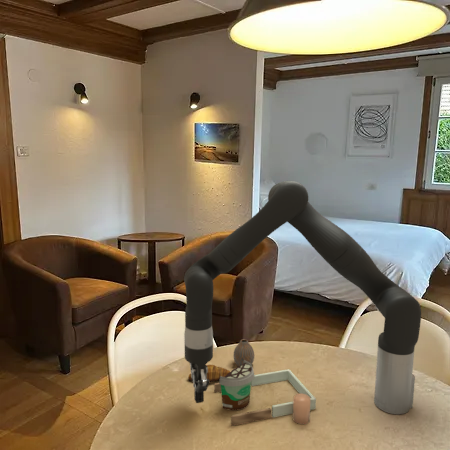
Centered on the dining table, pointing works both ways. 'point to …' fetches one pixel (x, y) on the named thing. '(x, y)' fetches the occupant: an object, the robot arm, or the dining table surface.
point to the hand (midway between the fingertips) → (199, 401)
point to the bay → (281, 376)
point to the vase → (243, 353)
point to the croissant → (214, 373)
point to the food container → (237, 387)
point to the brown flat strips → (246, 413)
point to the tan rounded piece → (301, 408)
